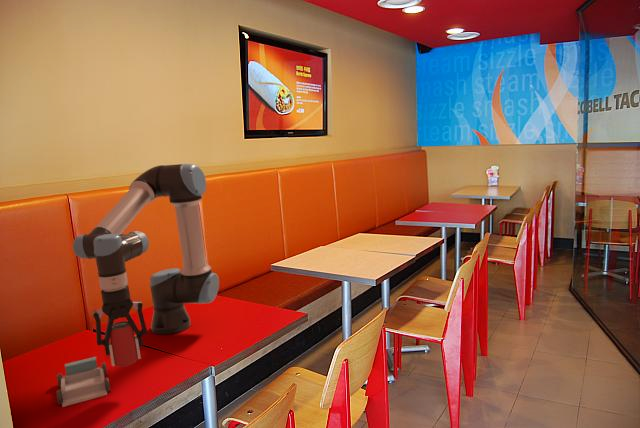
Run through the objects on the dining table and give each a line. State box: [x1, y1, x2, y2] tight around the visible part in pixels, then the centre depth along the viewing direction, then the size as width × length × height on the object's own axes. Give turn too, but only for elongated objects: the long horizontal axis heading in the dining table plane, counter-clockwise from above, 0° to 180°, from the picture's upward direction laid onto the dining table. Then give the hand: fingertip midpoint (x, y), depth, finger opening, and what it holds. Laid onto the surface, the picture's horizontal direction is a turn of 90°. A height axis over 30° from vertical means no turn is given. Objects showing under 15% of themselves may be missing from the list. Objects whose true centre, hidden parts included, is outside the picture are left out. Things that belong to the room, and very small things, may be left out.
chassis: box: [56, 356, 111, 408], centre depth 152 cm, size 17×14×6 cm
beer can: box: [110, 320, 139, 368], centre depth 147 cm, size 7×7×12 cm
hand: (126, 360), depth 148 cm, fingers closed on beer can, 7 cm apart
